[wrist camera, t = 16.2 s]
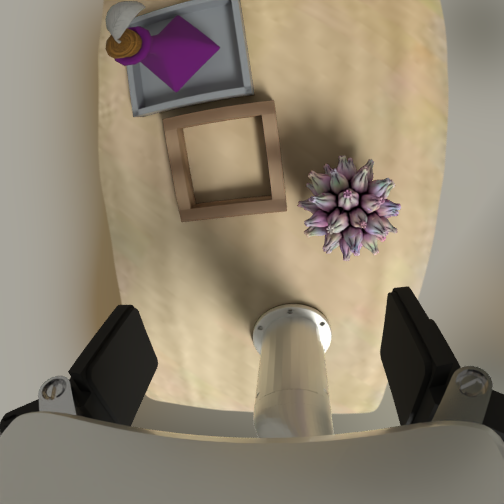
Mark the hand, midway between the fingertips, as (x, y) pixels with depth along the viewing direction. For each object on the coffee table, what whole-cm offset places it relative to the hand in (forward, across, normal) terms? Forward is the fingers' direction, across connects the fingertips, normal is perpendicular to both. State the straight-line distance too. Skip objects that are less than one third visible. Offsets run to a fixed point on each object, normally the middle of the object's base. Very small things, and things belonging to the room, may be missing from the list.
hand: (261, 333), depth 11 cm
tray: (+30, +9, -18) cm, 36 cm away
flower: (+31, -8, +3) cm, 32 cm away
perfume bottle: (+30, +9, -18) cm, 36 cm away
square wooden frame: (+30, +6, -3) cm, 31 cm away
